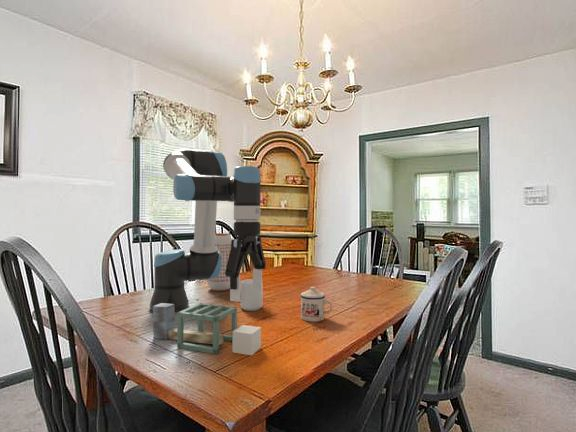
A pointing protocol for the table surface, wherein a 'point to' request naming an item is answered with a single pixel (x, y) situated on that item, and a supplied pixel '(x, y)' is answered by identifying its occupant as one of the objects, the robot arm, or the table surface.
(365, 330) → the table surface
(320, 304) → the teacup with lid
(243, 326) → the block
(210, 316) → the tube cage
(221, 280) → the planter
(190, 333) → the mallet
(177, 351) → the table surface
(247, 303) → the mug
